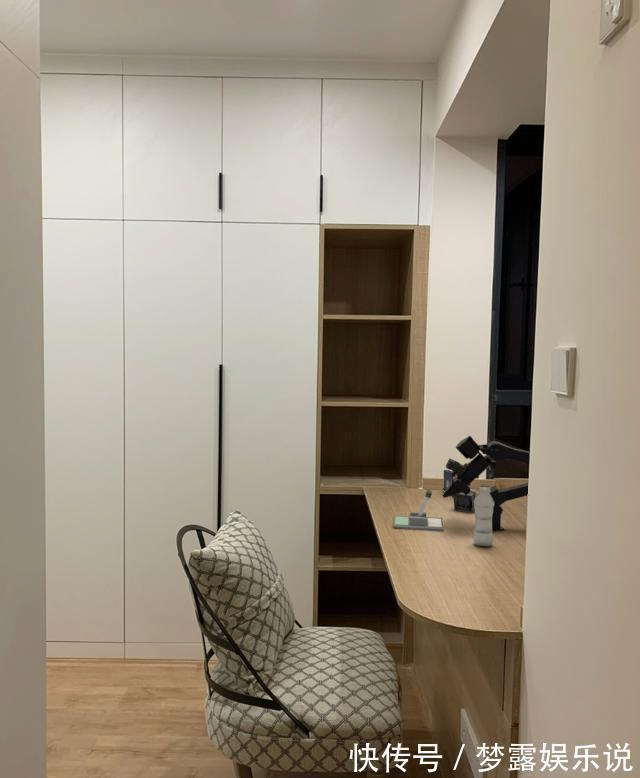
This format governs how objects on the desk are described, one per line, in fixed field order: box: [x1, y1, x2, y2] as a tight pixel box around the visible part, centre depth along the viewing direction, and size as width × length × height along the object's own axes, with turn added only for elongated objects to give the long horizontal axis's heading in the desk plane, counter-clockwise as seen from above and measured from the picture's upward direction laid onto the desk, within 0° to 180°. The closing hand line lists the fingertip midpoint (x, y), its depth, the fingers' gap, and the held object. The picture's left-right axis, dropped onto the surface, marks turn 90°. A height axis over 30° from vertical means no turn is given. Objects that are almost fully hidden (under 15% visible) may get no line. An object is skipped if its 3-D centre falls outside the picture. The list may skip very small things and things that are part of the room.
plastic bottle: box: [472, 484, 494, 547], centre depth 206 cm, size 6×7×20 cm
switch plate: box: [392, 510, 445, 532], centre depth 230 cm, size 18×14×4 cm
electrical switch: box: [452, 488, 478, 514], centre depth 248 cm, size 9×5×9 cm, turn 57°
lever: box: [417, 489, 433, 517], centre depth 229 cm, size 2×4×12 cm, turn 172°
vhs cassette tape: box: [442, 469, 454, 498], centre depth 271 cm, size 18×3×10 cm, turn 12°
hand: (443, 496), depth 228 cm, fingers closed
